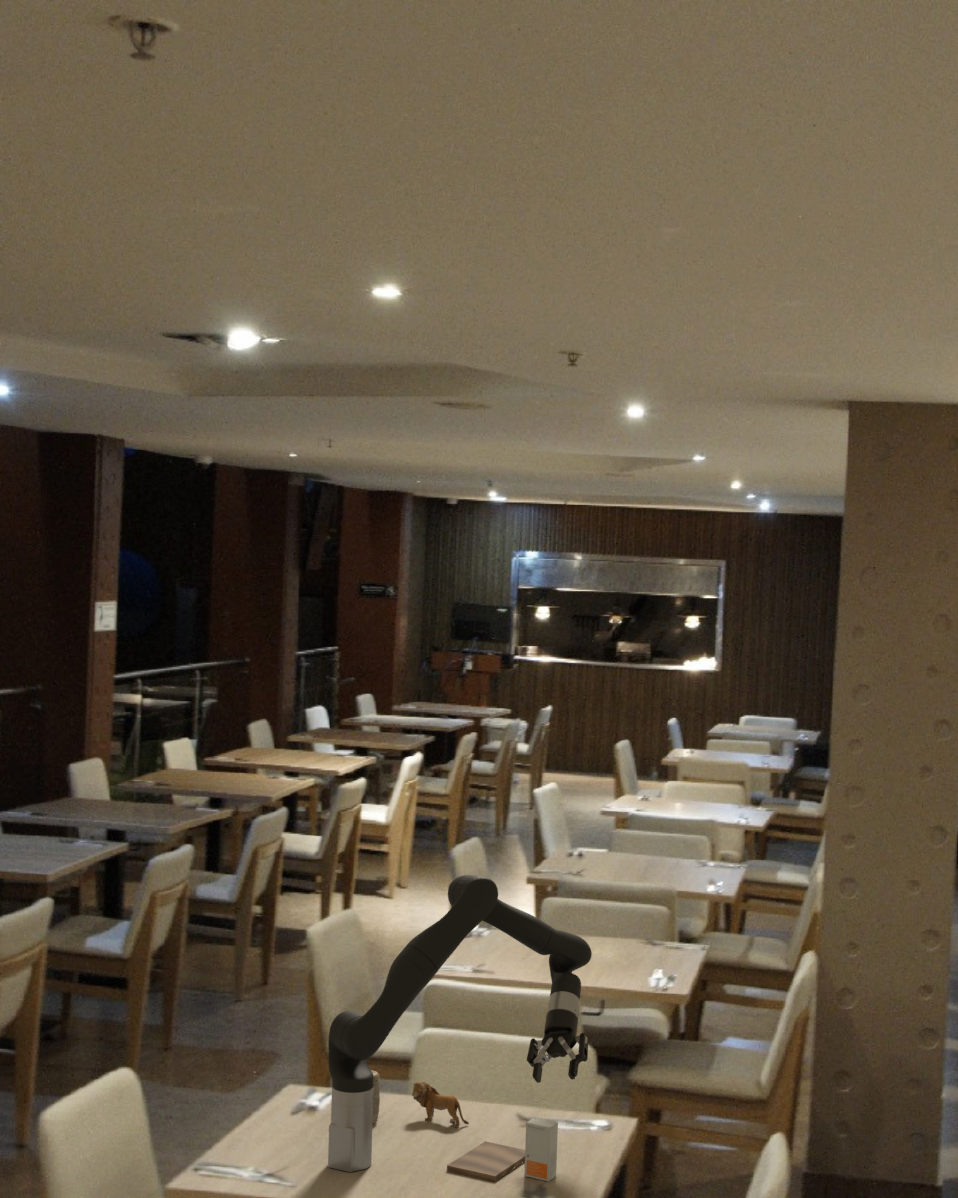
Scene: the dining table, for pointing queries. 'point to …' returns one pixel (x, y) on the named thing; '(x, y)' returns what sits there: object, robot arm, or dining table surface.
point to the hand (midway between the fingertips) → (554, 1079)
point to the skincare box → (541, 1149)
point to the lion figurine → (436, 1102)
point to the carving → (376, 1096)
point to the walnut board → (488, 1161)
